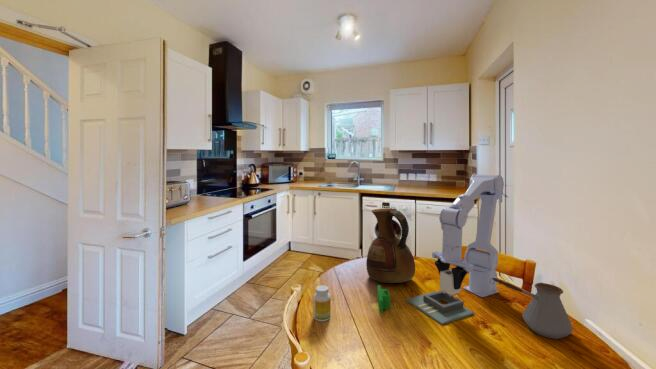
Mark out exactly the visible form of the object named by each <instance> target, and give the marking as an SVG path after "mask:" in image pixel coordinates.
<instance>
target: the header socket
mask: <svg viewBox="0 0 656 369" xmlns="http://www.w3.org/2000/svg"><path fill="white" fill-rule="evenodd" d="M441 300H443V301H444V302H447V303H446V304H443V303H441V302H439V301H441ZM405 301H406V302H407V303H409V304H410V305H412V306H413V307H414V308H416V309H417V310H420V312H422V313H424V314H425V315H427V316H428V317H430V318H431V319H432V320H434V321H435V322H437V323H438V324H439V325H441V326H443V325H445V324H449V323H452V322H454V321H457V320H460V319H464V318H467V317H470V316H473V315H475V311H472V310H470V309H469V308H467V307H465V306H464V301H463V300H462V299H460V298H459V296H458V295H454V294H452V295H451V294H449V293H447V292H445V291H443V290H439V291H436V290H435V291H431V292H427V293H424V294H421V295H420V294H419V295H416V296H412V297H410V298H406V299H405Z"/></svg>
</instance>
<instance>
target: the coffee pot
mask: <svg viewBox="0 0 656 369" xmlns="http://www.w3.org/2000/svg"><path fill="white" fill-rule="evenodd" d="M491 279H493V280H494V282H495V281H496V282H497V283H498V284H499V285H503V286H505V287H506V288H508V289H511V290H513V291H516V292H519V293H522V294H524V295H526V296H528V297H531V300H530V302H529V304H527V306H526V308H525V309H524V310H523V312H522V313H521V314H522V320H524V322H525V324H526V325H527V326H528V327H529V328H530V329H531V330H532V331H533V332H535V333H536V334H538V335H540V336H542V337H545V338H550V339H555V340H557V339H558V340H559V339H563V338H565V337H568V336H569V335H571V334H572V332H573V331H574V330H573V329H574V327H573V324H572V322H571V320H570V318H569V315H568V313H567V311H566V309H565V307H564V304H563V301H562V299H561V295H562V294H563V293H564V290H563V289H562V288H561V287H559V286H557V285H554V284H550V283H546V282H545V283H544V282H536V283H535V284H534V288H536V291H537V292H536V293H535V294H533V293H531V292H528V291H526V290H523V289H522V288H520V287H517V286H515V285H513V284H512V283H509V282H507V281H503V280H502V279H498V278H497V279H496V278H491ZM491 279H490V281H491ZM490 284H491V282H490ZM493 284H494V283H493Z"/></svg>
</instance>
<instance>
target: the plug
mask: <svg viewBox="0 0 656 369" xmlns="http://www.w3.org/2000/svg"><path fill="white" fill-rule="evenodd" d="M439 290H440V291H442V290H443V291H445V292H447V293H448V294H451V295H452V294H453V295H455V294H458V293H461V292H462V286H461V287H460V289H457V290H456V289H454V278H453V273H452V270H451V268H449V269H448V270H444V271H440V274H439Z"/></svg>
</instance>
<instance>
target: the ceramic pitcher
mask: <svg viewBox="0 0 656 369" xmlns="http://www.w3.org/2000/svg"><path fill="white" fill-rule="evenodd" d="M371 212H372V214H373V215H374V217H375V219H376V222H377V227H378V233H377V236H376V237H375V238H374V240H372V242H371V243H370V246H369V248H368V252H367V256H366V262H365V263H366V265H365V266H366V271H367V274H368V276H369V278H370V279H373V280H375V281H378V282H381V283H389V284H390V283H391V284H396V283H404V282H409V281H411V280H412V279H413V278H414V277H415V273H416V263H415V258H414V256H413V253H412V251H411V248H409V246H408V245H407V240H408V236H409V233H410V232H409V230H410V228H409V223H408V220H407V218H406V216H405V215H404V214H403V213H402V212H401V211H399V210H398V209H397V208H395V207H394V208H393V207H392V208H391V207H390V208H388V207H387V208H376V209H372V210H371ZM393 217H394V218H395V219H396V220H397V221H398V223H399V224H400V228H401V236H400V237H399V236H397V235H396V233H395V231H394V227H393Z"/></svg>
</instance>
